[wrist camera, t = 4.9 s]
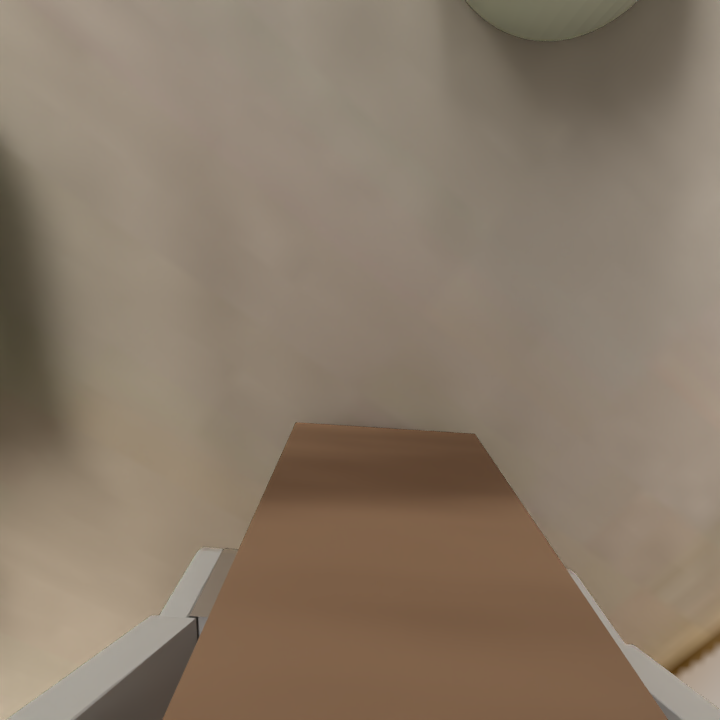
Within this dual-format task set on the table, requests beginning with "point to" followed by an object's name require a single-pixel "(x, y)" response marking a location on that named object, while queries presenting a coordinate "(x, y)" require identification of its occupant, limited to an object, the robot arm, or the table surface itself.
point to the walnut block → (400, 597)
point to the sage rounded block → (549, 16)
